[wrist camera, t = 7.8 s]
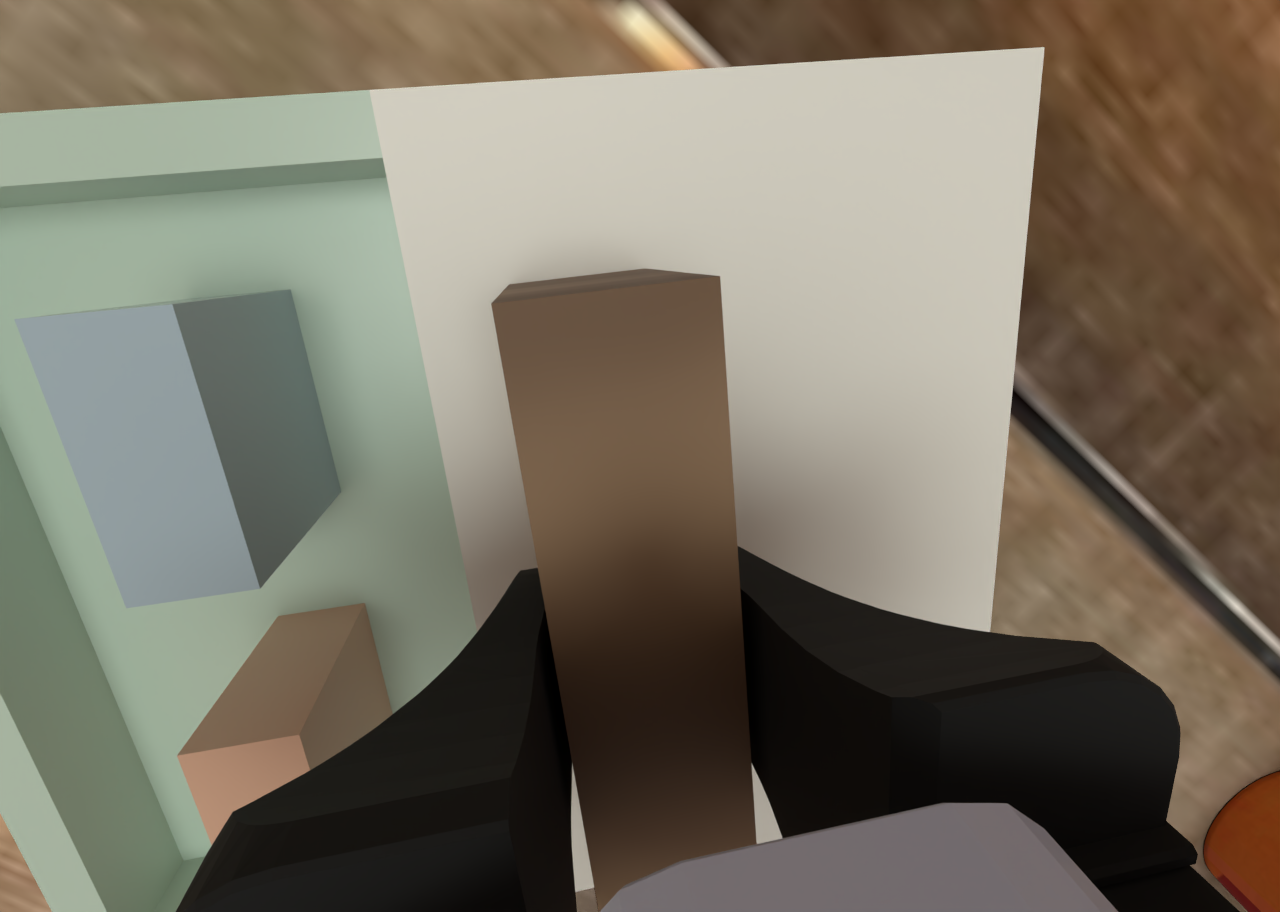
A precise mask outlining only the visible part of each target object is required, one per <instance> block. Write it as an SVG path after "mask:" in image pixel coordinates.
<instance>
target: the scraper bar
mask: <svg viewBox="0 0 1280 912" xmlns="http://www.w3.org/2000/svg"><path fill="white" fill-rule="evenodd" d="M491 306H492V311H493V317H494V323H495V328H496V334H497V340H498V345H499V351H500V356H501V362H502V368H503V373H504V379H505V385H506V390H507V396H508V402H509V407H510V413H511V419H512V424H513V430H514V436H515V441H516V447H517V453H518V458H519V464H520V470H521V475H522V481H523V487H524V492H525V498H526V504H527V509H528V515H529V521H530V526H531V532H532V538H533V543H534V549H535V555H536V560H537V566H538V572H539V577H540V583H541V589H542V594H543V600H544V606H545V611H546V617H547V623H548V628H549V634H550V640H551V645H552V651H553V657H554V662H555V668H556V674H557V679H558V685H559V691H560V696H561V702H562V708H563V713H564V719H565V725H566V730H567V736H568V742H569V747H570V753H571V759H572V764H573V770H574V775H575V781H576V787H577V792H578V798H579V804H580V809H581V815H582V821H583V826H584V832H585V838H586V843H587V849H588V855H589V860H590V866H591V872H592V877H593V883H594V889H595V894H596V900H597V906H598V911H599V912H600V911H601V910H602V909H603V907H604V906H605V905H606V904H607V903H608V902H609V901H610V900H611V899H612V898H613V897H614V896H615V894H616V893H617V892H618V891H619V890H620V889H621V888H622V887H624V886H625V885H627V884H629V883H631V882H633V881H636V880H638V879H640V878H643V877H645V876H647V875H650V874H652V873H654V872H656V871H659V870H661V869H663V868H666V867H668V866H670V865H672V864H675V863H677V862H679V861H683V860H687V859H692V858H696V857H701V856H705V855H710V854H714V853H719V852H723V851H728V850H732V849H737V848H741V847H746V846H750V845H755V844H757V842H756V826H755V811H754V795H753V779H752V764H751V748H750V733H749V717H748V702H747V686H746V670H745V655H744V639H743V624H742V608H741V593H740V577H739V561H738V546H737V530H736V515H735V499H734V484H733V468H732V453H731V437H730V421H729V406H728V390H727V375H726V359H725V344H724V328H723V312H722V297H721V281H720V276H714V275H705V274H695V273H685V272H676V271H666V270H656V269H647V268H644V269H636V270H627V271H619V272H610V273H602V274H593V275H584V276H576V277H567V278H559V279H550V280H542V281H533V282H525V283H516V284H509V285H508V286H507V287H506V288H505V289H504V290H503V291H502V292H501V294H500V295H499V296H498V297H497V298H496V299H495V300H494V301H493V302H492V303H491Z"/></svg>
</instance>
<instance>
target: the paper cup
mask: <svg viewBox="0 0 1280 912" xmlns="http://www.w3.org/2000/svg"><path fill="white" fill-rule="evenodd" d="M1204 859H1205V863H1206V865H1207V867H1208V869H1209V870H1210V871H1211V873H1212V874H1213V875H1214V876H1215V877H1216V878H1217V879H1218V881H1219V882H1220V883H1221V884H1222V885H1223V886H1224V887H1225V888H1226V889H1227V890H1228V891H1229V892H1230V893H1231V894H1232V895H1233V896H1234V897H1235V899H1236V900H1237V901H1238V902H1239V903H1240V904H1241V905H1242V906H1243V907H1244V908H1245V909H1246V910H1247V911H1248V912H1280V771H1279V772H1276V773H1273V774H1270V775H1268V776H1265V777H1263V778H1261V779H1259V780H1257V781H1256V782H1254V783H1252V784H1251V785H1249V786H1248V787H1246V788H1245V789H1243V790H1242V791H1241V792H1239V793H1238V794H1237V795H1236V796H1235V797H1234V798H1233V799H1232V800H1230V801H1229V802H1228V804H1227V805H1226V806H1225V807H1224V808H1223V809H1222V810H1221V812H1220V813H1219V814H1218V816H1217V817H1216V819H1215V820H1214V822H1213V823H1212V825H1211V827H1210V829H1209V831H1208V834H1207V837H1206V840H1205V844H1204Z"/></svg>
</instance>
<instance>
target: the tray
mask: <svg viewBox="0 0 1280 912" xmlns="http://www.w3.org/2000/svg"><path fill="white" fill-rule="evenodd" d="M289 289H291V293H292V297H293V301H294V305H295V309H296V313H297V317H298V321H299V325H300V329H301V333H302V337H303V341H304V345H305V349H306V353H307V357H308V361H309V365H310V369H311V373H312V377H313V381H314V385H315V389H316V393H317V397H318V401H319V405H320V409H321V413H322V417H323V421H324V425H325V428H326V432H327V436H328V440H329V444H330V448H331V452H332V456H333V460H334V464H335V468H336V472H337V476H338V480H339V484H340V488H341V493H340V494H339V495H338V496H337V498H336V499H335V500H334V501H333V502H332V504H331V505H330V506H329V507H328V508H327V510H326V511H325V512H324V513H323V514H322V516H321V517H320V518H319V519H318V520H317V522H316V523H315V524H314V525H313V526H312V528H311V529H310V530H309V531H308V532H307V533H306V535H305V536H304V537H303V538H302V539H301V541H300V542H299V543H298V544H297V545H296V547H295V548H294V549H293V550H292V551H291V553H290V554H289V555H288V556H287V557H286V559H285V560H284V561H283V562H282V563H281V565H280V566H279V567H278V568H277V569H276V571H275V572H274V573H273V574H272V575H271V576H270V578H269V579H268V580H267V581H266V582H265V584H264V585H263V586H262V587H261V588H260V589H255V590H249V591H242V592H235V593H228V594H221V595H214V596H208V597H201V598H194V599H187V600H180V601H173V602H166V603H160V604H153V605H146V606H139V607H132V608H126V606H125V604H124V601H123V599H122V596H121V594H120V591H119V588H118V586H117V583H116V581H115V578H114V575H113V573H112V570H111V568H110V565H109V563H108V560H107V557H106V555H105V552H104V550H103V547H102V545H101V542H100V539H99V537H98V534H97V532H96V529H95V526H94V524H93V521H92V519H91V516H90V514H89V511H88V508H87V506H86V503H85V501H84V498H83V495H82V493H81V490H80V488H79V485H78V483H77V480H76V477H75V475H74V472H73V470H72V467H71V464H70V462H69V459H68V457H67V454H66V452H65V449H64V446H63V444H62V441H61V439H60V436H59V434H58V431H57V428H56V426H55V423H54V421H53V418H52V415H51V413H50V410H49V408H48V405H47V403H46V400H45V397H44V395H43V392H42V390H41V387H40V384H39V382H38V379H37V377H36V374H35V372H34V369H33V366H32V364H31V361H30V359H29V356H28V353H27V351H26V348H25V346H24V343H23V341H22V338H21V335H20V333H19V330H18V328H17V325H16V323H15V320H14V319H20V318H28V317H37V316H45V315H54V314H62V313H71V312H80V311H88V310H97V309H105V308H114V307H122V306H131V305H140V304H148V303H157V302H165V301H174V300H182V299H192V298H203V297H214V296H224V295H235V294H246V293H257V292H267V291H278V290H289ZM361 603H365V606H366V609H367V613H368V617H369V621H370V625H371V629H372V633H373V637H374V641H375V645H376V649H377V653H378V657H379V661H380V665H381V669H382V673H383V677H384V681H385V685H386V689H387V693H388V697H389V701H390V705H391V709H392V713H393V714H394V713H395V712H396V711H397V710H399V709H400V708H401V707H402V706H404V705H405V704H406V703H407V702H409V701H410V700H411V699H412V698H414V697H415V696H416V695H417V694H419V693H420V692H421V691H422V690H423V689H424V688H425V687H426V686H427V685H429V684H430V683H431V682H432V681H433V680H434V679H435V678H436V677H437V676H438V675H439V674H440V673H441V672H442V671H443V670H444V669H445V668H446V667H447V666H448V665H449V664H450V663H451V662H452V661H453V660H454V659H455V658H456V657H457V656H458V655H459V653H460V652H461V651H462V650H463V649H464V647H465V646H466V645H467V644H468V643H469V641H470V640H471V639H472V638H473V637H474V635H475V634H476V633H477V629H476V624H475V619H474V614H473V609H472V604H471V599H470V594H469V589H468V584H467V579H466V574H465V569H464V563H463V558H462V553H461V548H460V543H459V538H458V533H457V528H456V523H455V518H454V513H453V508H452V503H451V498H450V493H449V488H448V483H447V478H446V473H445V468H444V463H443V458H442V453H441V448H440V443H439V438H438V433H437V428H436V423H435V418H434V413H433V408H432V403H431V398H430V393H429V388H428V383H427V378H426V373H425V368H424V363H423V358H422V353H421V348H420V343H419V338H418V333H417V327H416V322H415V317H414V312H413V307H412V302H411V297H410V292H409V287H408V282H407V277H406V272H405V267H404V262H403V257H402V252H401V247H400V242H399V237H398V232H397V227H396V222H395V217H394V212H393V207H392V202H391V197H390V192H389V187H388V182H387V177H386V172H385V167H384V162H383V157H382V152H381V147H380V142H379V137H378V132H377V127H376V122H375V117H374V112H373V107H372V102H371V97H370V91H369V90H362V91H347V92H331V93H315V94H299V95H283V96H268V97H252V98H236V99H220V100H205V101H189V102H173V103H157V104H141V105H126V106H110V107H94V108H78V109H63V110H47V111H31V112H15V113H0V813H1V815H2V817H3V819H4V821H5V823H6V825H7V827H8V829H9V830H10V832H11V834H12V836H13V838H14V840H15V842H16V844H17V846H18V848H19V850H20V851H21V853H22V855H23V857H24V859H25V861H26V863H27V865H28V867H29V869H30V870H31V872H32V874H33V876H34V878H35V880H36V882H37V884H38V886H39V888H40V890H41V891H42V893H43V895H44V897H45V899H46V901H47V903H48V905H49V907H50V909H51V910H52V912H176V910H177V908H178V906H179V905H180V903H181V901H182V899H183V897H184V895H185V893H186V891H187V890H188V888H189V886H190V884H191V882H192V880H193V878H194V877H195V875H196V873H197V871H198V869H199V867H200V865H201V864H202V862H203V860H204V858H205V856H206V854H207V852H208V851H209V849H210V847H211V846H212V845H211V842H210V840H209V837H208V834H207V832H206V829H205V827H204V824H203V822H202V819H201V816H200V814H199V811H198V809H197V806H196V804H195V801H194V799H193V796H192V793H191V791H190V788H189V786H188V783H187V781H186V778H185V775H184V773H183V770H182V768H181V765H180V763H179V760H178V757H177V755H178V753H179V752H180V751H181V749H182V748H183V747H184V745H185V744H186V742H187V741H188V740H189V738H190V737H191V736H192V734H193V733H194V731H195V730H196V729H197V727H198V726H199V724H200V723H201V722H202V720H203V719H204V718H205V716H206V715H207V713H208V712H209V711H210V709H211V708H212V706H213V705H214V704H215V702H216V701H217V700H218V698H219V697H220V695H221V694H222V693H223V691H224V690H225V689H226V687H227V686H228V684H229V683H230V682H231V680H232V679H233V677H234V676H235V675H236V673H237V672H238V671H239V669H240V668H241V666H242V665H243V664H244V662H245V661H246V660H247V658H248V657H249V655H250V654H251V653H252V651H253V650H254V648H255V647H256V646H257V644H258V643H259V642H260V640H261V639H262V637H263V636H264V635H265V633H266V632H267V631H268V629H269V628H270V626H271V625H272V624H273V622H274V621H275V619H276V618H277V617H278V616H281V615H288V614H295V613H301V612H308V611H315V610H321V609H328V608H335V607H341V606H348V605H355V604H361Z"/></svg>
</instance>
